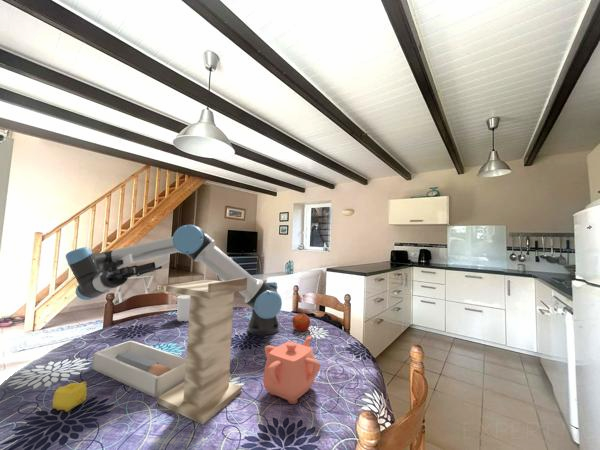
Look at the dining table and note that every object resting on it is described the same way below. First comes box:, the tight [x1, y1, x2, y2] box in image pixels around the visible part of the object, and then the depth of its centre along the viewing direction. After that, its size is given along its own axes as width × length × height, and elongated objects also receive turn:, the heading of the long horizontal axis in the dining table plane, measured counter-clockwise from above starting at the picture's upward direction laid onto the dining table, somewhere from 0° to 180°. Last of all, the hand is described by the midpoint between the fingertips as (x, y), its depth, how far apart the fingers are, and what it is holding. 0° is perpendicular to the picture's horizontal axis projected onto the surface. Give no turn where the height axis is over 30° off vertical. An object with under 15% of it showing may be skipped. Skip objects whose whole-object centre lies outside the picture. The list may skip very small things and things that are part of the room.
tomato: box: [292, 312, 311, 332], centre depth 119 cm, size 9×9×8 cm
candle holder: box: [176, 294, 191, 322], centre depth 130 cm, size 10×10×12 cm
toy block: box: [51, 381, 88, 413], centre depth 61 cm, size 8×6×5 cm
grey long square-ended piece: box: [116, 352, 172, 376], centre depth 76 cm, size 24×3×3 cm, turn 66°
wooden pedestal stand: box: [156, 277, 247, 426], centre depth 66 cm, size 16×14×32 cm
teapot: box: [262, 334, 321, 405], centre depth 70 cm, size 17×16×13 cm
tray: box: [91, 340, 186, 399], centre depth 76 cm, size 32×12×5 cm, turn 65°
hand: (151, 258), depth 83 cm, fingers open, 13 cm apart
